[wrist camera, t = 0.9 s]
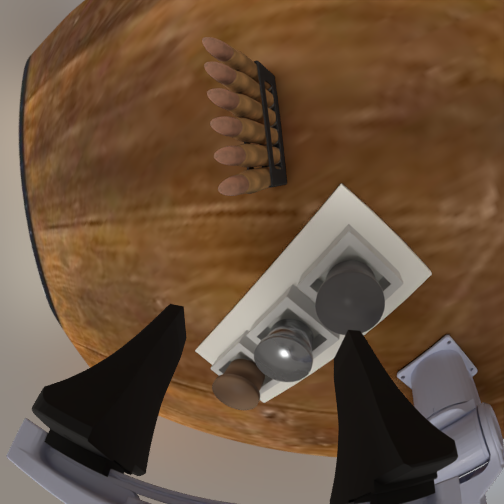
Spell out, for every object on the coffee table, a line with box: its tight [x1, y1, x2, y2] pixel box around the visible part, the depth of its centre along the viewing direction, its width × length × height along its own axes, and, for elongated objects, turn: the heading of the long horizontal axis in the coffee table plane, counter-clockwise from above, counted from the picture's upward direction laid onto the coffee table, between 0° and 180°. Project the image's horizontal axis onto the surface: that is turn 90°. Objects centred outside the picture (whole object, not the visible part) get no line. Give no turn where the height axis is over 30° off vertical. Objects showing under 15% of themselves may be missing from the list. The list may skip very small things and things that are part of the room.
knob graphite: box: [315, 260, 385, 335], centre depth 20 cm, size 5×5×4 cm
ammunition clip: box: [202, 37, 287, 196], centre depth 18 cm, size 11×2×12 cm, turn 6°
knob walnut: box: [212, 359, 265, 410], centre depth 27 cm, size 5×5×4 cm
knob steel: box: [254, 319, 314, 382], centre depth 24 cm, size 5×5×4 cm
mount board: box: [195, 183, 432, 403], centre depth 27 cm, size 12×27×4 cm, turn 144°
